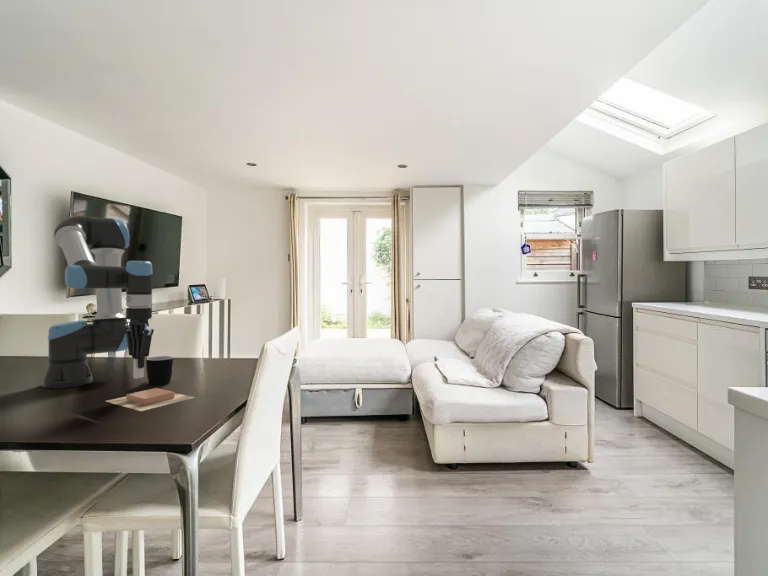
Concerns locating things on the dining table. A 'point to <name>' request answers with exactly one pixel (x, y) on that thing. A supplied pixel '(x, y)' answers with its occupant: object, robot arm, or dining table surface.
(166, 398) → the tile
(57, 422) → the dining table surface
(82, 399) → the dining table surface
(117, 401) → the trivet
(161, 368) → the mug
